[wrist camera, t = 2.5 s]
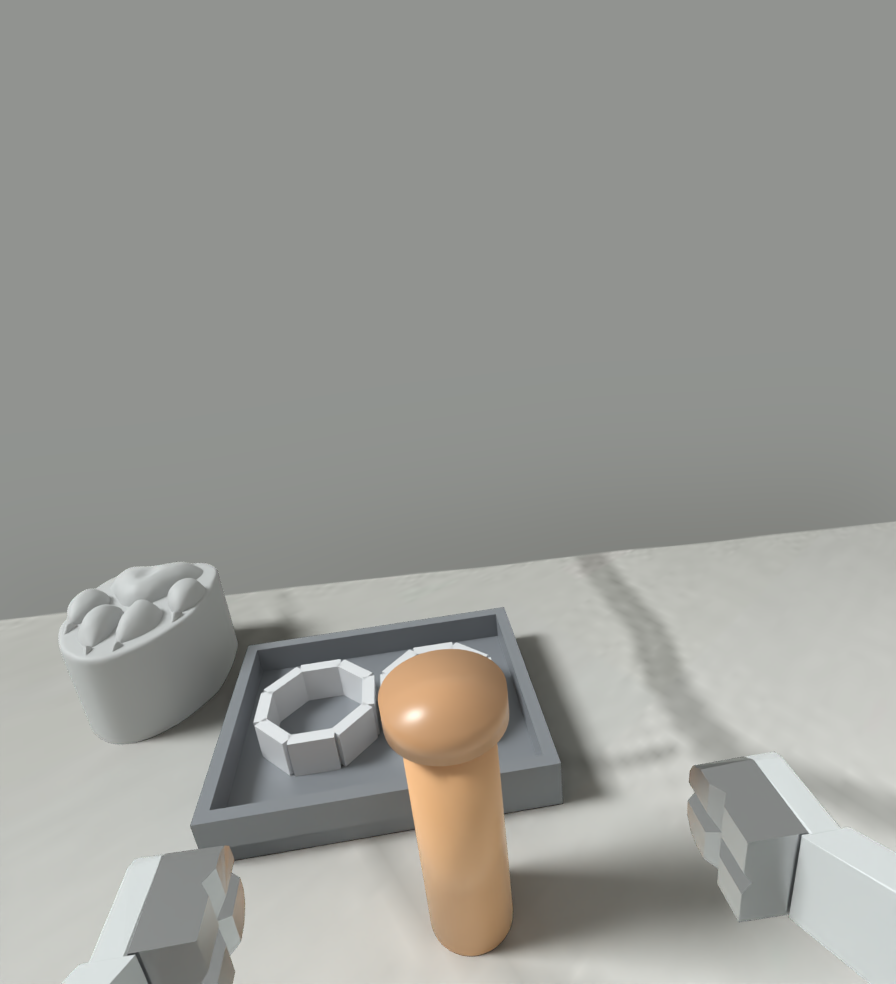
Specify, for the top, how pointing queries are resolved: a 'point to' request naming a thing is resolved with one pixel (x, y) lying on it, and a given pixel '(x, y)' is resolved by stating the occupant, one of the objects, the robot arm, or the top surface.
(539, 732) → the tray
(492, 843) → the round-headed peg
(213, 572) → the lumpy-topped squat cylinder
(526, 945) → the top surface
